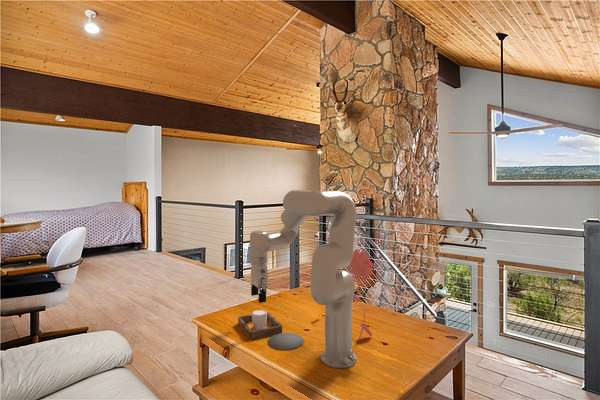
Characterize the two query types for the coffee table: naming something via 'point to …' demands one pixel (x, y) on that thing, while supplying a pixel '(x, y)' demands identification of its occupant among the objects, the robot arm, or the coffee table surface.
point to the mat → (286, 341)
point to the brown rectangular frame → (262, 332)
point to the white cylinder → (259, 319)
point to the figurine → (359, 269)
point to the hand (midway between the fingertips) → (258, 298)
